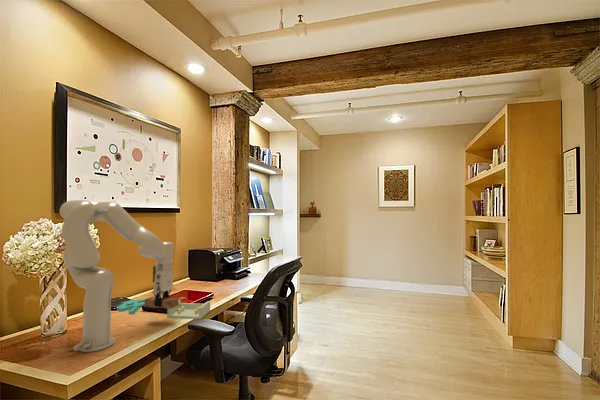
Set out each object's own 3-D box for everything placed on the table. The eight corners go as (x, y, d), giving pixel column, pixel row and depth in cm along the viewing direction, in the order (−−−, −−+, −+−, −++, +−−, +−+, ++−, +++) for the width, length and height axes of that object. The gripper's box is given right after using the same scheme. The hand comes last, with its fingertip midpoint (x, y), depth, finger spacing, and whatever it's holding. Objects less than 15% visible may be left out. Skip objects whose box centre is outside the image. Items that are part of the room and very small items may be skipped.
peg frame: (201, 318, 158) (201, 308, 158) (167, 317, 160) (167, 306, 160) (209, 311, 170) (210, 301, 170) (178, 310, 172) (178, 300, 172)
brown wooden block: (178, 305, 154) (178, 298, 154) (171, 308, 148) (172, 301, 148) (151, 303, 156) (152, 296, 156) (144, 306, 150) (144, 299, 150)
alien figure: (164, 305, 181) (144, 300, 192) (164, 301, 182) (144, 296, 192) (131, 315, 164) (110, 309, 175) (131, 311, 164) (110, 305, 175)
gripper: (162, 270, 144) (159, 309, 143) (179, 265, 162) (177, 300, 160) (146, 269, 145) (144, 308, 144) (165, 264, 162) (163, 299, 161)
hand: (161, 304), depth 152 cm, fingers closed on brown wooden block, 6 cm apart
